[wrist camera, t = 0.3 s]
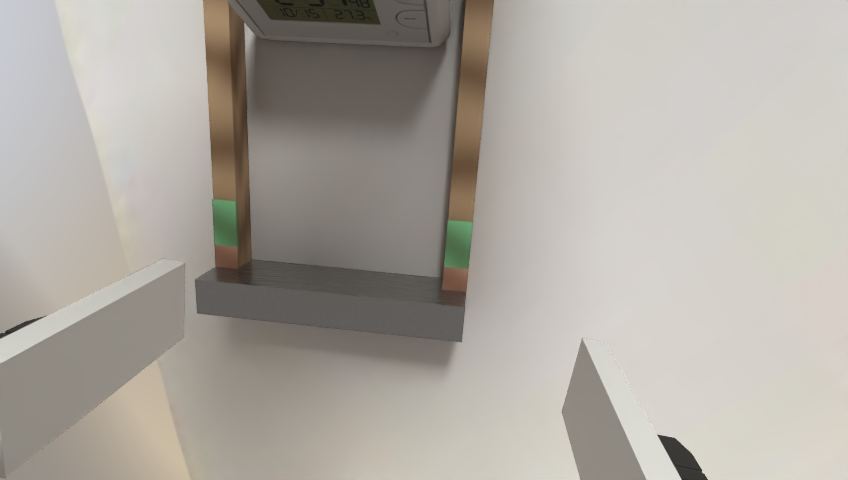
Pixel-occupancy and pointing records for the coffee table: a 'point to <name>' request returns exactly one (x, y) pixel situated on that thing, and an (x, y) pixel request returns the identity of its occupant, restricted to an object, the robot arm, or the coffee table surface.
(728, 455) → the coffee table surface
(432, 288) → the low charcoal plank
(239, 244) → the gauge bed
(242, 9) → the digital clock
